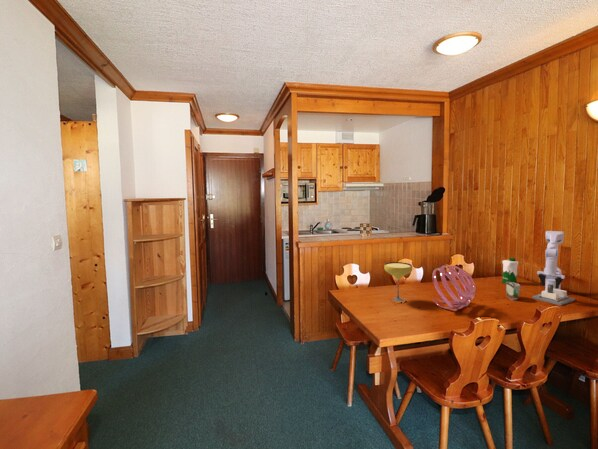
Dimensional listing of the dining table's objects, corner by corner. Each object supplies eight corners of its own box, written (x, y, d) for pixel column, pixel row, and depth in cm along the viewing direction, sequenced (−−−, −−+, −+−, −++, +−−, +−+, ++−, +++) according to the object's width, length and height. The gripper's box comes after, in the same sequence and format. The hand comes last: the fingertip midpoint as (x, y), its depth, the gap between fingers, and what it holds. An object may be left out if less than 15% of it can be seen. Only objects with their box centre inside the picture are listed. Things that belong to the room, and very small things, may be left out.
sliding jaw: (544, 295, 210) (545, 283, 209) (558, 298, 202) (559, 286, 202) (541, 296, 208) (541, 284, 207) (555, 299, 201) (556, 287, 200)
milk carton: (518, 284, 243) (520, 259, 241) (509, 285, 241) (510, 259, 239) (508, 281, 251) (509, 257, 249) (499, 282, 249) (500, 257, 247)
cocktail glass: (417, 301, 209) (418, 265, 207) (399, 307, 200) (399, 269, 198) (396, 294, 225) (396, 260, 222) (378, 299, 215) (378, 264, 213)
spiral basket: (411, 274, 205) (448, 255, 188) (433, 277, 222) (468, 260, 205) (429, 316, 191) (471, 300, 174) (451, 315, 208) (491, 300, 191)
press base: (546, 294, 218) (546, 286, 218) (574, 300, 204) (575, 292, 204) (532, 298, 210) (532, 290, 210) (560, 305, 196) (561, 297, 196)
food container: (524, 301, 204) (524, 286, 204) (513, 301, 206) (514, 286, 205) (515, 295, 217) (515, 281, 216) (505, 295, 218) (505, 281, 217)
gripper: (535, 265, 208) (534, 285, 209) (561, 269, 195) (560, 290, 196) (540, 264, 211) (539, 283, 212) (566, 268, 198) (565, 289, 199)
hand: (550, 287), depth 204 cm, fingers open, 7 cm apart
